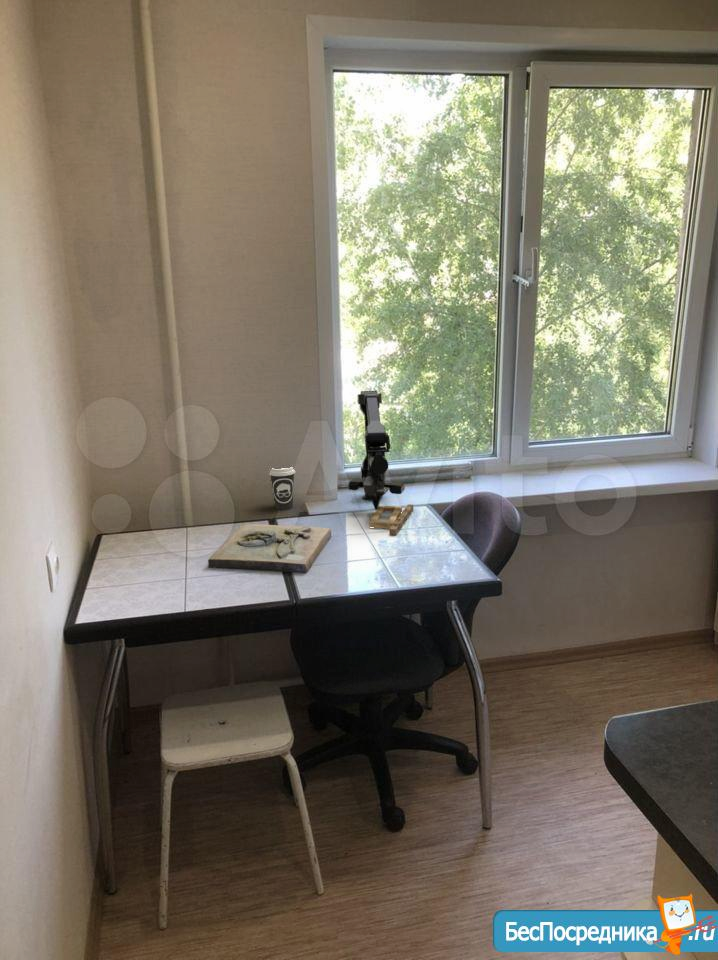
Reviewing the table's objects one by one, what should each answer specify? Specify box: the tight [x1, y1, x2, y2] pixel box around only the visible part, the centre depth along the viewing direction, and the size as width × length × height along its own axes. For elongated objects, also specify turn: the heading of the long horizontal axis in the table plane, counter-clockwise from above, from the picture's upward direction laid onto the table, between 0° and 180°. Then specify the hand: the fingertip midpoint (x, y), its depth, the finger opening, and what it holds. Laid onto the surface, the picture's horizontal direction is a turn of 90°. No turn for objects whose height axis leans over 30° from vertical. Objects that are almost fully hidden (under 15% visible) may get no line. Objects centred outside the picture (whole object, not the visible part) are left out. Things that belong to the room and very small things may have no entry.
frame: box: [368, 504, 403, 530], centre depth 246 cm, size 18×8×2 cm, turn 168°
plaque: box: [207, 523, 332, 574], centre depth 220 cm, size 30×7×30 cm
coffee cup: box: [268, 466, 296, 511], centre depth 260 cm, size 10×10×15 cm
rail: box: [388, 504, 414, 536], centre depth 243 cm, size 26×2×3 cm, turn 163°
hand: (376, 509), depth 254 cm, fingers closed
